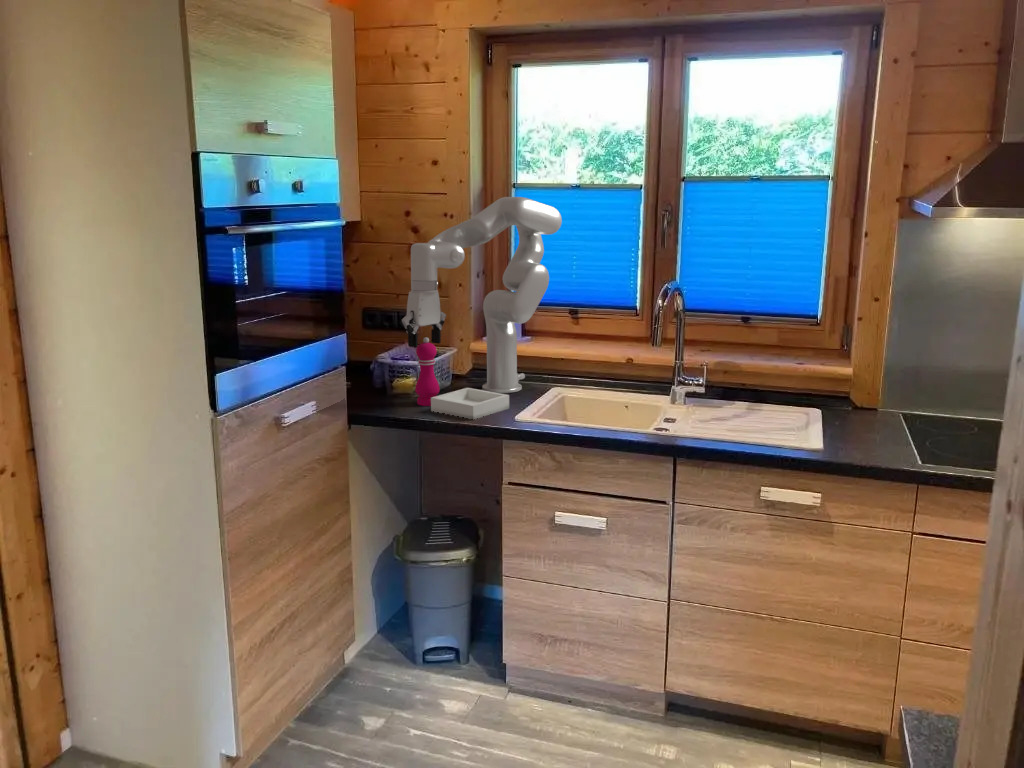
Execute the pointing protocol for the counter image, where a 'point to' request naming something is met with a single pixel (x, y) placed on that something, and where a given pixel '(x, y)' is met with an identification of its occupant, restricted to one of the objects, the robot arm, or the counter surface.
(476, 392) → the tray
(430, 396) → the pepper mill
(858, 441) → the counter surface
